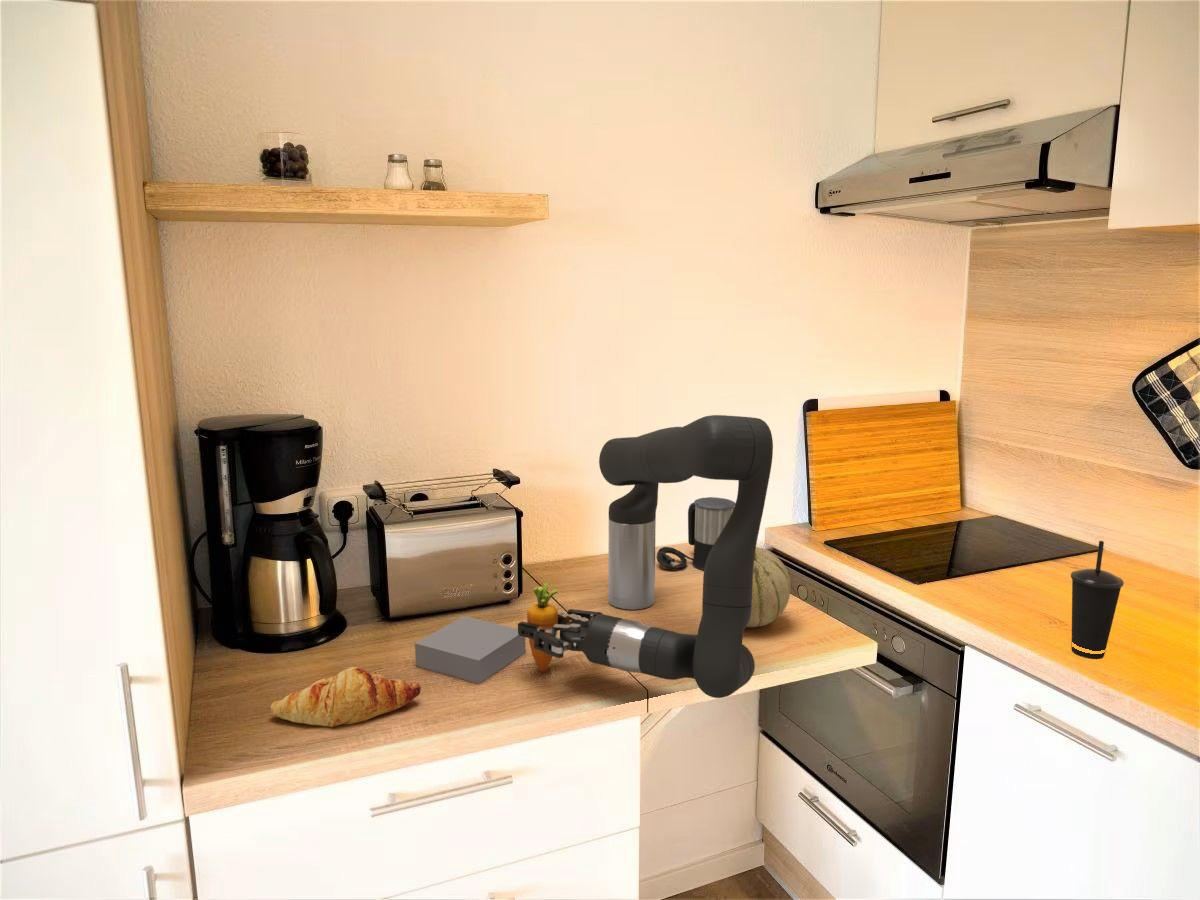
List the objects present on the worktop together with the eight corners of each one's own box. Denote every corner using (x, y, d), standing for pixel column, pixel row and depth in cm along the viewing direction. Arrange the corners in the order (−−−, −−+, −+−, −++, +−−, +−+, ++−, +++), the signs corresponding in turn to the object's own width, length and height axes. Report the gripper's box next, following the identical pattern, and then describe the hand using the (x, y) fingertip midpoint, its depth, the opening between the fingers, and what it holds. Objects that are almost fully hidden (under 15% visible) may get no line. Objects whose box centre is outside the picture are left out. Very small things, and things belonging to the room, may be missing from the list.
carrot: (542, 661, 135) (541, 576, 132) (564, 670, 132) (564, 583, 129) (521, 672, 131) (520, 584, 128) (543, 681, 128) (542, 592, 125)
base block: (465, 637, 145) (464, 615, 144) (525, 652, 139) (525, 630, 138) (415, 665, 134) (414, 643, 133) (479, 684, 127) (478, 660, 127)
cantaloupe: (769, 605, 159) (772, 532, 157) (803, 636, 145) (807, 556, 143) (698, 611, 156) (700, 537, 154) (725, 643, 142) (728, 562, 139)
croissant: (271, 753, 115) (262, 721, 110) (276, 692, 122) (267, 660, 117) (423, 730, 120) (421, 698, 115) (419, 673, 127) (417, 641, 122)
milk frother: (741, 565, 183) (744, 502, 180) (696, 582, 172) (698, 515, 169) (693, 551, 193) (695, 490, 190) (648, 566, 182) (648, 502, 179)
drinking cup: (1054, 651, 139) (1067, 540, 135) (1072, 639, 144) (1085, 532, 140) (1103, 667, 133) (1119, 551, 130) (1120, 654, 138) (1135, 542, 134)
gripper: (642, 604, 129) (551, 586, 137) (599, 638, 116) (502, 615, 124) (642, 648, 130) (552, 628, 138) (599, 686, 118) (503, 660, 126)
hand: (529, 622), depth 131 cm, fingers closed on carrot, 5 cm apart
